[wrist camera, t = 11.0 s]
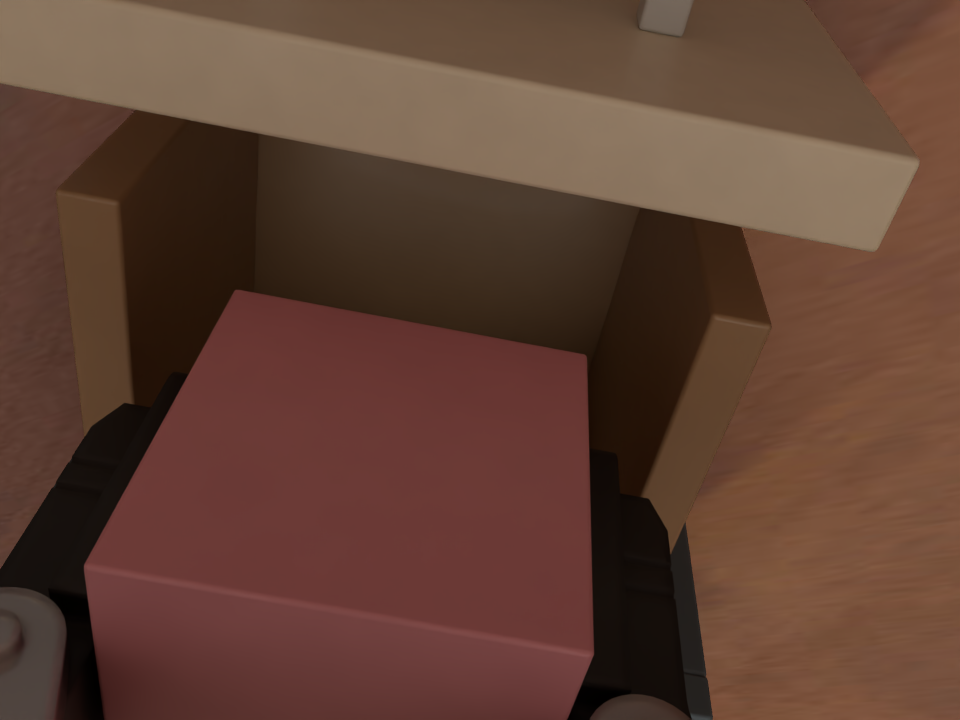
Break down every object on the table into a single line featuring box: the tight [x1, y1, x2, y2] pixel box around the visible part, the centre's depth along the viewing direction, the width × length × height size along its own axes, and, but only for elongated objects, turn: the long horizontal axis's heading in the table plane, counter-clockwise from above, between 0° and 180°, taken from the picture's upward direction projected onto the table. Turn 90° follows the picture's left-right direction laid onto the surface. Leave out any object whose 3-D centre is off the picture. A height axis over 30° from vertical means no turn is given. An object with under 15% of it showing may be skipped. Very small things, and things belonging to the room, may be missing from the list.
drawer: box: [0, 0, 919, 555], centre depth 16 cm, size 18×10×8 cm, turn 170°
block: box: [84, 290, 594, 720], centre depth 11 cm, size 4×4×4 cm
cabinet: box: [53, 459, 713, 720], centre depth 23 cm, size 15×12×10 cm
